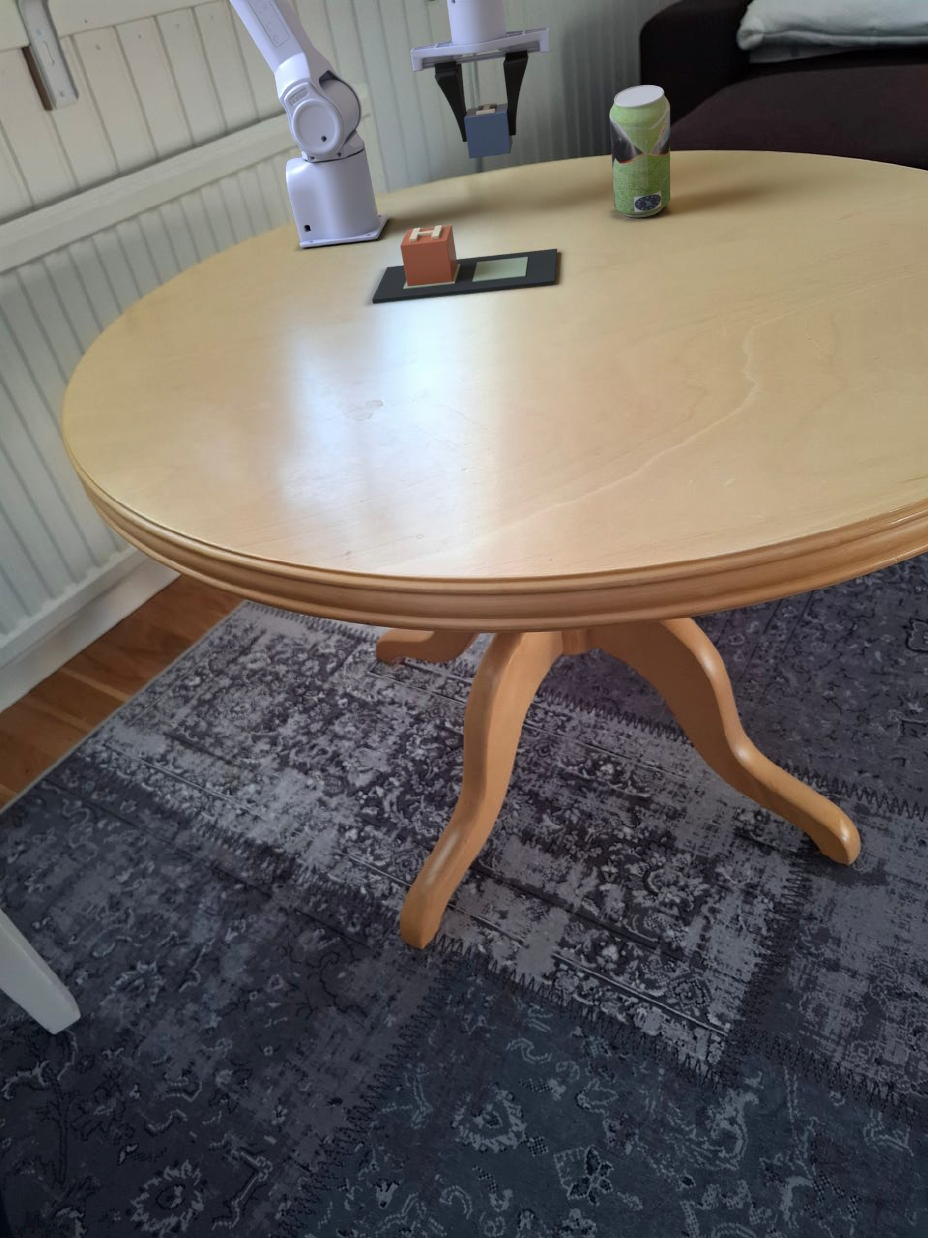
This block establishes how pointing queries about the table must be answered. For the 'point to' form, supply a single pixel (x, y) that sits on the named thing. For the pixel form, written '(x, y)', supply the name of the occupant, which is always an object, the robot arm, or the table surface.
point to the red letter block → (429, 255)
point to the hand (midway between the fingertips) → (490, 136)
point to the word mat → (475, 276)
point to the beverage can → (640, 150)
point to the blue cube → (488, 130)
